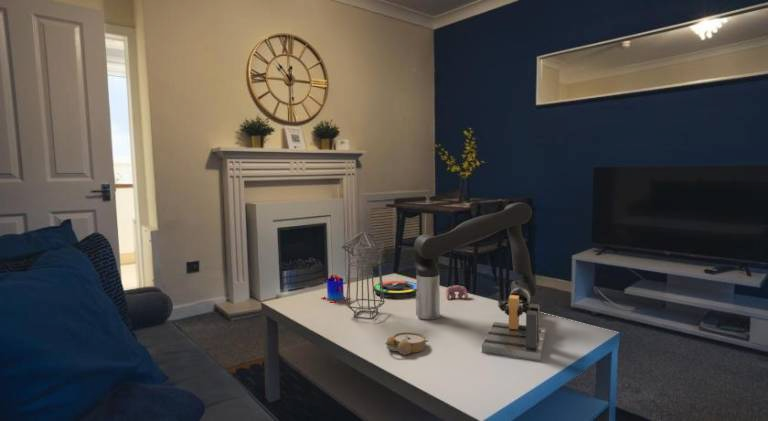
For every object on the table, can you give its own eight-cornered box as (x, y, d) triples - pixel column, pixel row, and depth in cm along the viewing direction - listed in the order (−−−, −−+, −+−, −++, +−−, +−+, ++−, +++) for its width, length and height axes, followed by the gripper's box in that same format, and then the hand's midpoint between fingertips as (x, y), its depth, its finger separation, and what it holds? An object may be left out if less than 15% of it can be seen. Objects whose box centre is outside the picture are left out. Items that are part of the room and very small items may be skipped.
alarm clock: (432, 338, 146) (403, 343, 135) (431, 352, 146) (402, 359, 135) (408, 330, 154) (378, 334, 143) (406, 344, 154) (377, 349, 143)
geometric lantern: (341, 318, 176) (337, 233, 174) (357, 308, 190) (355, 229, 188) (376, 322, 170) (373, 234, 168) (391, 311, 184) (388, 229, 182)
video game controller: (467, 301, 200) (466, 286, 203) (468, 299, 196) (467, 284, 199) (446, 301, 201) (445, 286, 204) (446, 299, 197) (445, 284, 199)
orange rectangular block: (518, 325, 155) (519, 295, 154) (517, 329, 151) (517, 298, 150) (510, 324, 156) (510, 294, 155) (508, 328, 153) (508, 298, 152)
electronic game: (405, 302, 196) (405, 292, 196) (364, 295, 209) (364, 285, 209) (428, 290, 216) (428, 280, 215) (389, 284, 228) (389, 275, 228)
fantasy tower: (318, 298, 204) (317, 274, 203) (340, 294, 212) (339, 270, 210) (331, 304, 195) (330, 278, 194) (353, 299, 202) (352, 274, 201)
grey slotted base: (545, 334, 153) (546, 297, 152) (540, 361, 133) (540, 317, 131) (494, 328, 161) (494, 292, 160) (481, 352, 140) (481, 311, 139)
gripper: (500, 288, 169) (492, 300, 153) (538, 291, 163) (534, 304, 147) (500, 306, 169) (492, 320, 154) (538, 310, 164) (534, 325, 148)
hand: (512, 312), depth 151 cm, fingers closed on orange rectangular block, 3 cm apart
